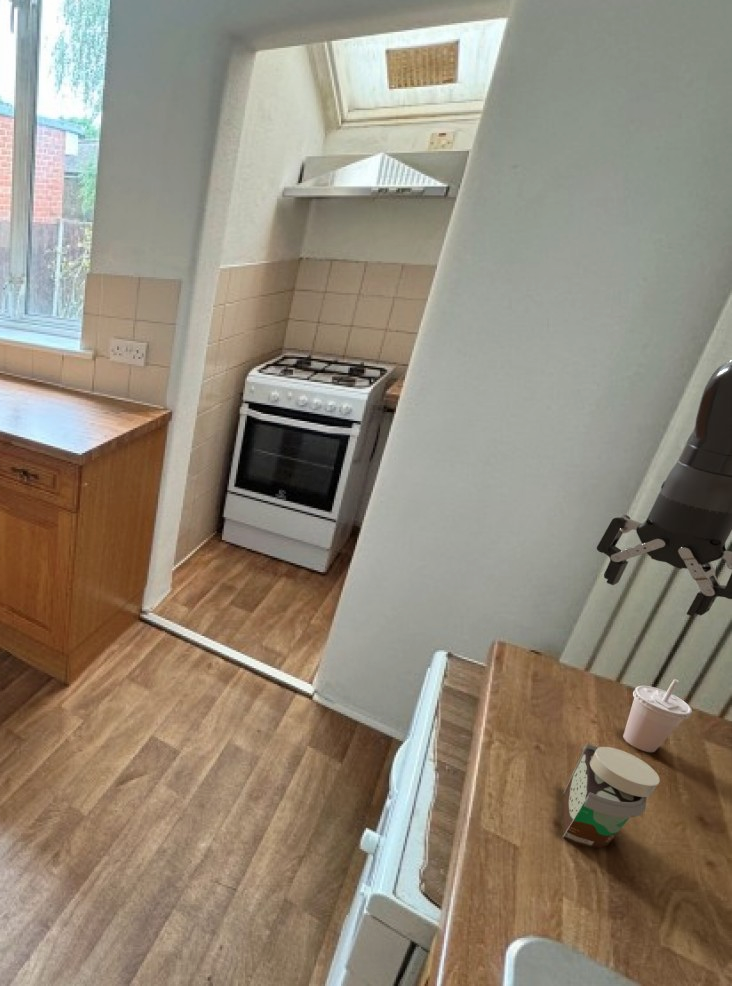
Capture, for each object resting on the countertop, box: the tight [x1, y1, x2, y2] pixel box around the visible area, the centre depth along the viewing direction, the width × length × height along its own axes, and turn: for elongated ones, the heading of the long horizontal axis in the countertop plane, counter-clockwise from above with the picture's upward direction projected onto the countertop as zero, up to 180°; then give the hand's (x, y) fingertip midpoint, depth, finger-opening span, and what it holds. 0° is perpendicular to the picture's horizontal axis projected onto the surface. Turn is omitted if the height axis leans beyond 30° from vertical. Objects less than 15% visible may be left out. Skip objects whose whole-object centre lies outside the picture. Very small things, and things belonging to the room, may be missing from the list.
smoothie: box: [622, 678, 693, 753], centre depth 97 cm, size 6×6×14 cm
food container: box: [562, 742, 648, 848], centre depth 83 cm, size 12×6×10 cm, turn 137°
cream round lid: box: [590, 746, 661, 798], centre depth 81 cm, size 6×6×3 cm
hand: (650, 598), depth 87 cm, fingers open, 8 cm apart
